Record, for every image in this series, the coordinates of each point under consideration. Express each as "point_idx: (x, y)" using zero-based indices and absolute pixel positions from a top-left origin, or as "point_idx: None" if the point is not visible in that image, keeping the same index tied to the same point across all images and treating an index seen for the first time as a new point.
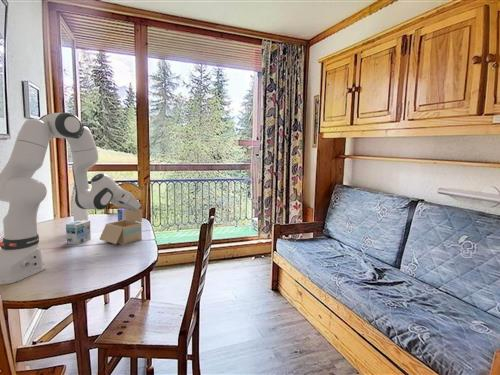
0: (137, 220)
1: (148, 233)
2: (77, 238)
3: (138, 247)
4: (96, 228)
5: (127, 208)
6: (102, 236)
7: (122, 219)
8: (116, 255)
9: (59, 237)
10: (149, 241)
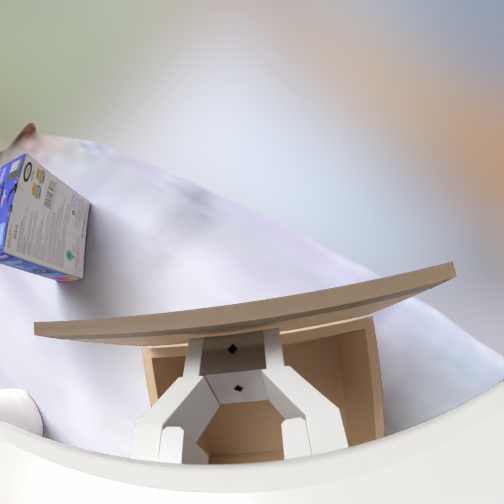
0: (318, 324)
1: (260, 225)
2: None
3: (439, 396)
4: (19, 351)
5: (203, 428)
6: None
7: (47, 267)
8: None
9: None
10: (404, 309)
